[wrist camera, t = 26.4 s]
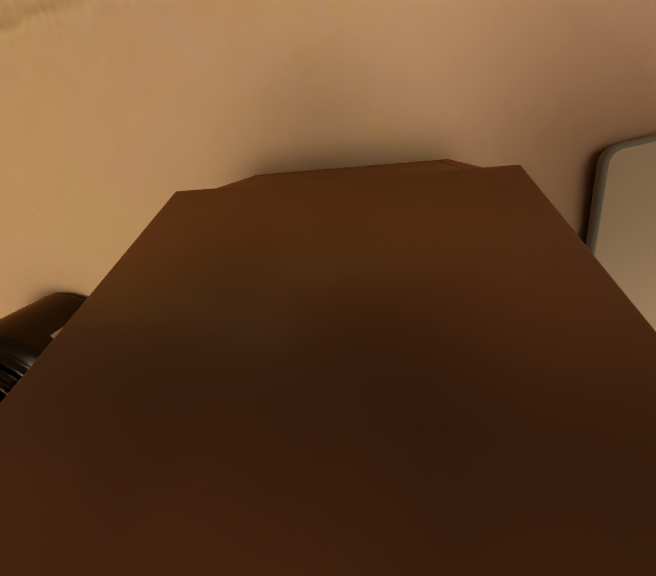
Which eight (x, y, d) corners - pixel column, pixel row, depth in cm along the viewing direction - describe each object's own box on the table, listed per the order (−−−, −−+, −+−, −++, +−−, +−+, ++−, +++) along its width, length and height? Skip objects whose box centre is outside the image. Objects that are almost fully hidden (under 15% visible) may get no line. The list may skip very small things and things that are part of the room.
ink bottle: (129, 381, 31) (5, 508, 20) (45, 352, 30) (-126, 467, 20) (132, 308, 27) (-24, 421, 16) (34, 273, 26) (-195, 366, 15)
